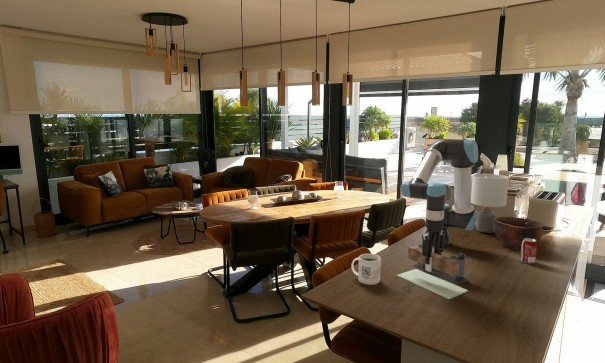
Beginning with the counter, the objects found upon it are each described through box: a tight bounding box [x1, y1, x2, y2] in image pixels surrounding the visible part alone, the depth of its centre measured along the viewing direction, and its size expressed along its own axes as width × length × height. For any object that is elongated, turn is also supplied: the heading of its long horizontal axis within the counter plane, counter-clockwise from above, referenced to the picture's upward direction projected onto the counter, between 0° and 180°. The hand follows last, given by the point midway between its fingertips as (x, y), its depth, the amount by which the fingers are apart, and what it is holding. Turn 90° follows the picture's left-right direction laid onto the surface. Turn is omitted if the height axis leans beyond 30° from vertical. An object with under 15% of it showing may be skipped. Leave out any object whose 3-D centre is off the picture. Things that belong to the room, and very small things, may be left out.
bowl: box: [493, 216, 545, 251], centre depth 218 cm, size 25×25×15 cm
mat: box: [396, 268, 469, 300], centre depth 171 cm, size 28×13×1 cm, turn 34°
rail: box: [407, 245, 460, 276], centre depth 169 cm, size 24×4×6 cm, turn 34°
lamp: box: [471, 173, 510, 234], centre depth 245 cm, size 21×21×37 cm
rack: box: [413, 243, 469, 285], centre depth 181 cm, size 25×7×12 cm, turn 34°
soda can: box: [519, 238, 538, 265], centre depth 195 cm, size 7×7×12 cm
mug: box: [350, 253, 382, 286], centre depth 174 cm, size 10×12×11 cm
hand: (431, 269), depth 170 cm, fingers closed on rail, 4 cm apart
